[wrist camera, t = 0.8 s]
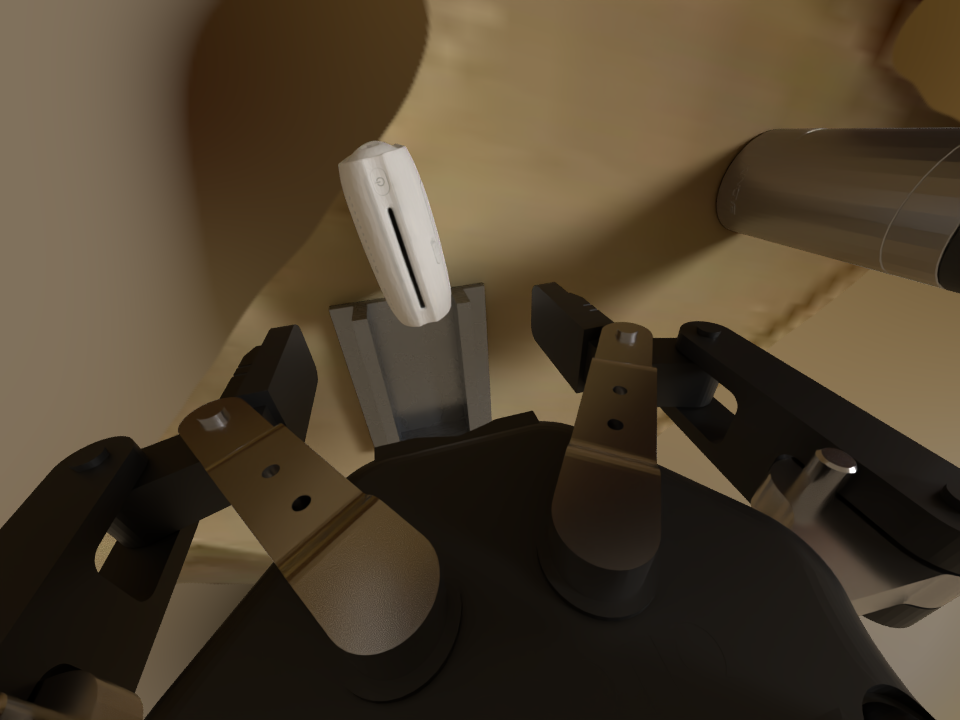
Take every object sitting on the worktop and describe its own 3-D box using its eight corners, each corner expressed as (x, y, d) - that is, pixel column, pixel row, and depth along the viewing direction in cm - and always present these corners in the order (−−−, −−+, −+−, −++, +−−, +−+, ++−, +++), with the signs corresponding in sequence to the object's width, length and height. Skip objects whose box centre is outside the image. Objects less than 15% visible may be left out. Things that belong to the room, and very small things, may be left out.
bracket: (482, 282, 33) (493, 298, 30) (490, 419, 43) (499, 441, 40) (329, 306, 31) (325, 325, 28) (375, 445, 41) (376, 471, 38)
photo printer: (340, 147, 25) (318, 157, 15) (397, 132, 25) (415, 133, 15) (390, 279, 31) (399, 350, 21) (436, 265, 31) (467, 329, 21)
